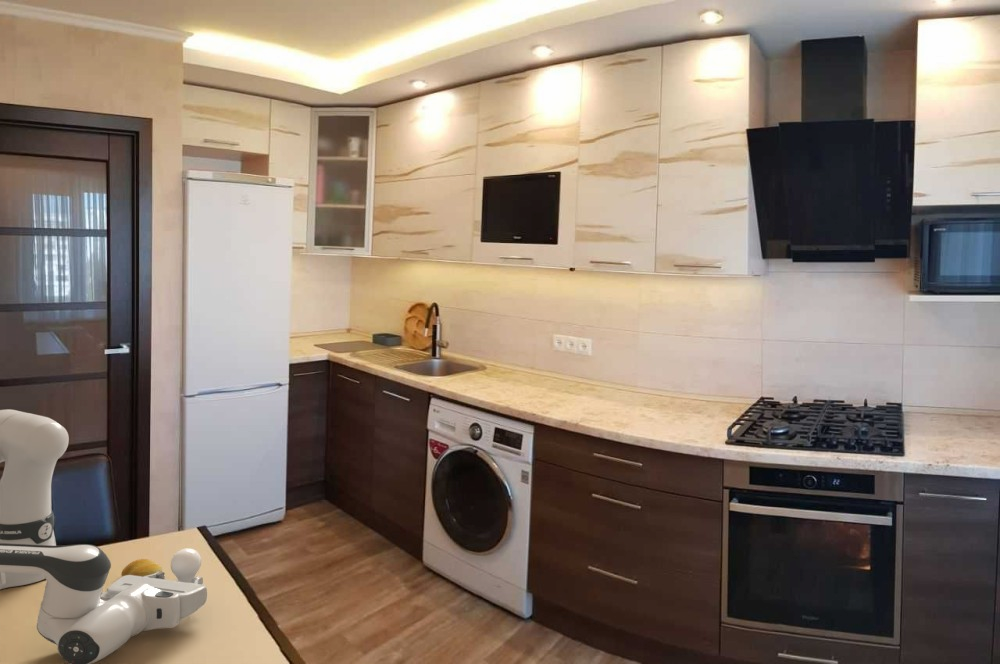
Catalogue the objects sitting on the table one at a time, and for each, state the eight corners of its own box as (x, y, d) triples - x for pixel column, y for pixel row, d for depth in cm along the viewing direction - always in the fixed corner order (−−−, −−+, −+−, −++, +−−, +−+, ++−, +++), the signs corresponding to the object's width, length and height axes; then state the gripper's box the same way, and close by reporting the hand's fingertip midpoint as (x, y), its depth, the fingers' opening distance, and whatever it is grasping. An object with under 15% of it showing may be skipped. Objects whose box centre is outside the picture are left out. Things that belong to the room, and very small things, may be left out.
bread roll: (133, 590, 159) (133, 573, 158) (116, 578, 164) (116, 562, 164) (169, 578, 165) (169, 562, 165) (152, 567, 171) (151, 551, 170)
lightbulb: (164, 598, 155) (164, 551, 154) (189, 586, 161) (188, 541, 160) (183, 605, 152) (183, 557, 151) (207, 593, 158) (207, 547, 157)
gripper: (92, 615, 142) (139, 585, 155) (181, 628, 138) (221, 596, 152) (92, 586, 141) (139, 558, 155) (181, 598, 137) (221, 569, 151)
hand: (180, 577), depth 153 cm, fingers open, 8 cm apart
